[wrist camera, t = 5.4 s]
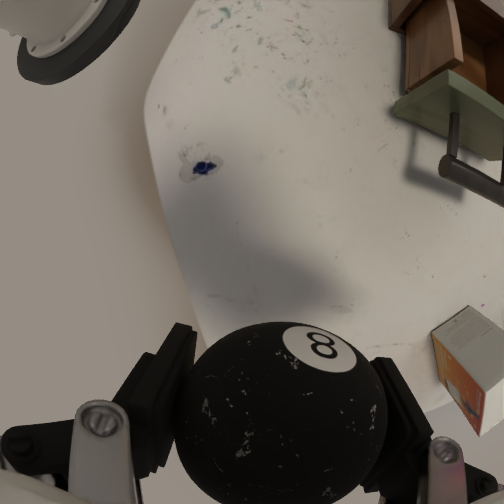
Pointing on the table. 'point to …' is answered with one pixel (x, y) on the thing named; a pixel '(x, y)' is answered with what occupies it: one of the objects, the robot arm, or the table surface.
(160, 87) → the table surface
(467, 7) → the drawer
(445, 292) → the table surface
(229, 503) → the billiard ball
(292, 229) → the table surface
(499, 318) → the table surface
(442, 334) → the small box
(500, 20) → the cabinet
